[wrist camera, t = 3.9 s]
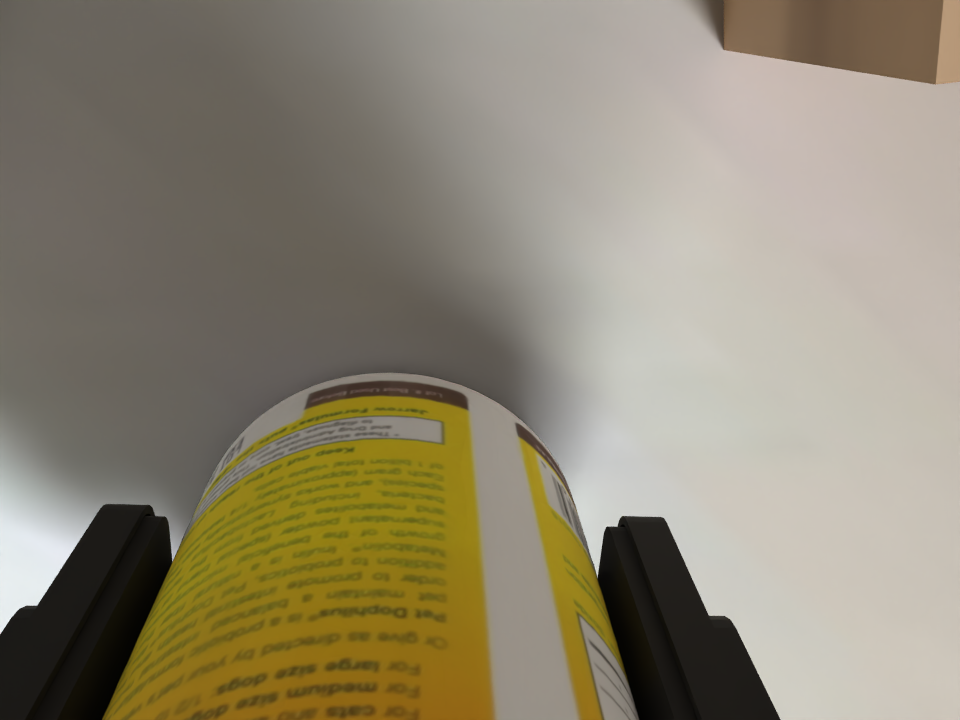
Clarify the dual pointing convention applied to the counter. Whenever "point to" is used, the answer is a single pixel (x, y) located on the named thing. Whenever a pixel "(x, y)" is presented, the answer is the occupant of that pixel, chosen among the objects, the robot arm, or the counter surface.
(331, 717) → the supplement bottle
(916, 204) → the counter surface
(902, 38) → the walnut block
